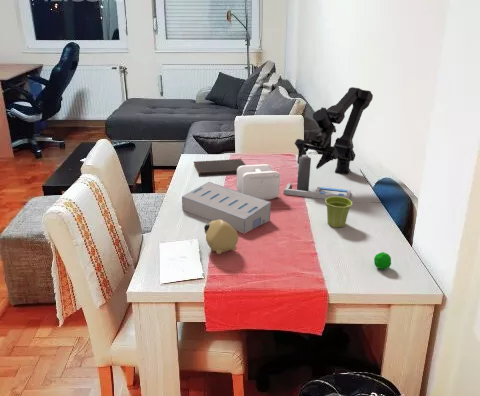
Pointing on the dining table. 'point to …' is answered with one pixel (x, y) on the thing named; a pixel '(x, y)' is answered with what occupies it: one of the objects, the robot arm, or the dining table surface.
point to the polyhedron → (382, 260)
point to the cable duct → (317, 193)
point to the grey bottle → (303, 173)
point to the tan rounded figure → (221, 236)
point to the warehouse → (227, 206)
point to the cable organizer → (258, 181)
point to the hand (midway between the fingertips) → (307, 165)
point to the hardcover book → (218, 167)
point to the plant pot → (337, 210)
